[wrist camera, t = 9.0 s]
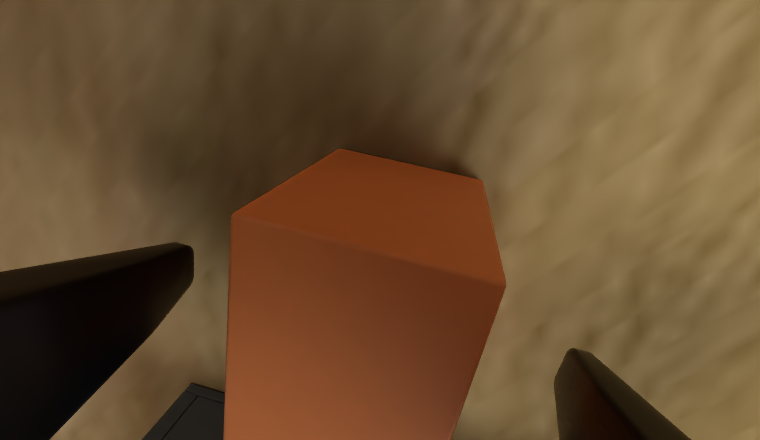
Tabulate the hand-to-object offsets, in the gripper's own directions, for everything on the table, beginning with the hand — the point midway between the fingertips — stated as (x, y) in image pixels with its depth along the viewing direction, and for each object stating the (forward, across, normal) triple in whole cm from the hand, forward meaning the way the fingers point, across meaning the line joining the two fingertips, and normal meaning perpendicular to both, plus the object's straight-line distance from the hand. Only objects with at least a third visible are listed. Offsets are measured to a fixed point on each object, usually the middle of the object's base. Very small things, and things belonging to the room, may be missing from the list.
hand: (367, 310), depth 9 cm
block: (+3, 0, 0) cm, 3 cm away
